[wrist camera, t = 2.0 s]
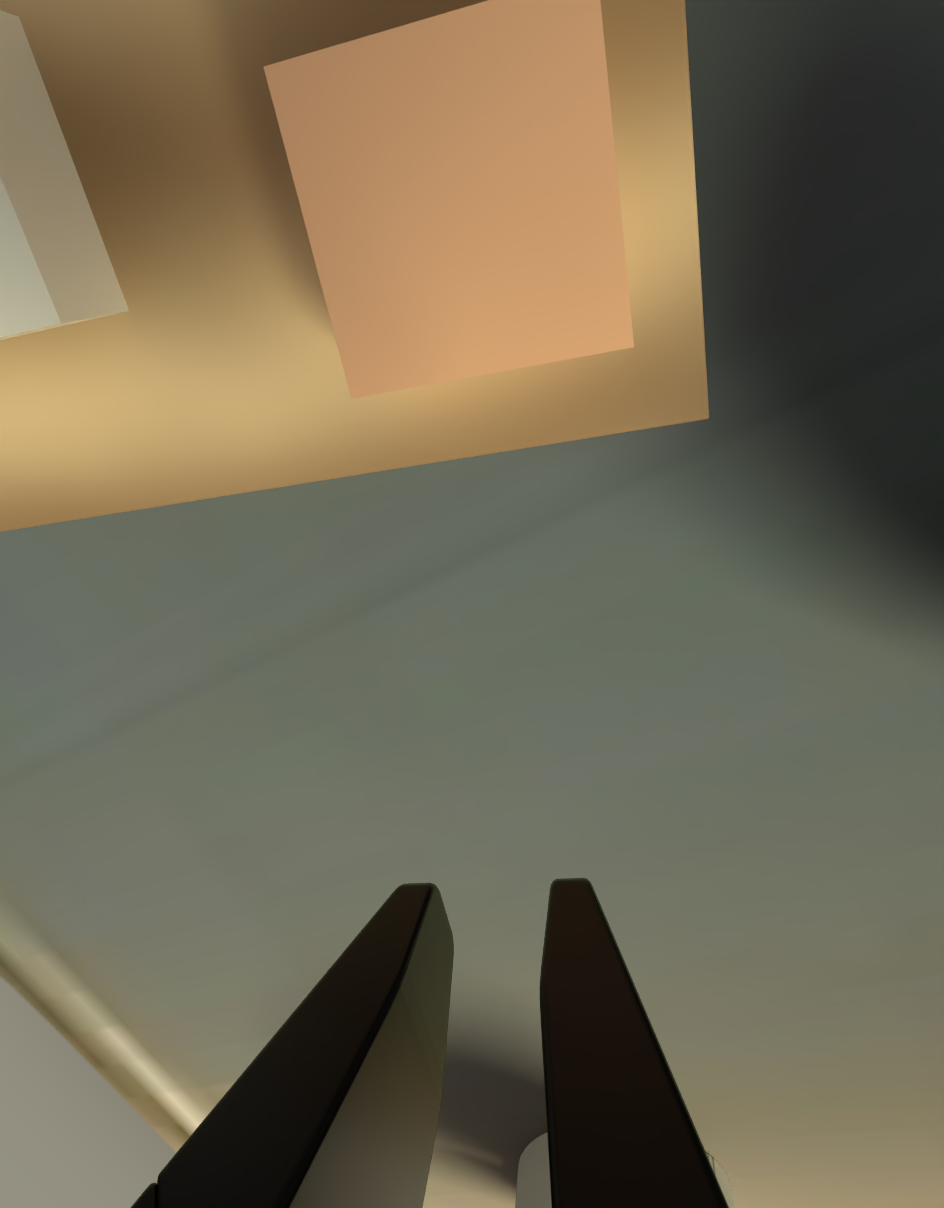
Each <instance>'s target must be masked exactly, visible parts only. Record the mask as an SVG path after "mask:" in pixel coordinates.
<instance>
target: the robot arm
mask: <svg viewBox="0 0 944 1208" xmlns="http://www.w3.org/2000/svg"><path fill="white" fill-rule="evenodd" d="M453 956H454V944H453V935H452V931H451V927H450V924H449V921H448V917H447V914H446V911H445V907H444V904H443V901H442V897H441V894H440V891H439V889H438V888H437V886H436V885H435V884H432V883H410V884H403V885H401V886H399V887H398V888H397V889H396V890H395V891H394V892H393V893H392V894H391V896H390V897H389V898H388V899H387V900H386V902H385V903H384V904H383V905H382V906H381V908H380V909H379V910H378V911H377V912H376V914H375V915H374V916H373V917H372V918H371V920H370V921H369V922H368V923H367V924H366V926H365V927H364V928H363V929H362V930H361V932H360V933H359V934H358V935H357V936H356V938H355V939H354V940H353V941H352V942H351V944H350V945H349V946H348V947H347V948H346V950H345V951H344V952H343V953H342V954H341V956H340V957H339V958H338V959H337V961H336V962H335V963H334V964H333V965H332V967H331V968H330V969H329V970H328V971H327V973H326V974H325V975H324V976H323V977H322V979H321V980H320V981H319V982H318V983H317V985H316V986H315V987H314V988H313V989H312V991H311V992H310V993H309V994H308V995H307V997H306V998H305V999H304V1000H303V1001H302V1003H301V1004H300V1005H299V1006H298V1007H297V1009H296V1010H295V1011H294V1012H293V1013H292V1015H291V1016H290V1017H289V1018H288V1019H287V1021H286V1022H285V1023H284V1024H283V1025H282V1027H281V1028H280V1029H279V1030H278V1031H277V1033H276V1034H275V1035H274V1036H273V1038H272V1039H271V1040H270V1041H269V1042H268V1044H267V1045H266V1046H265V1047H264V1048H263V1050H262V1051H261V1052H260V1053H259V1054H258V1056H257V1057H256V1058H255V1059H254V1060H253V1062H252V1063H251V1064H250V1065H249V1066H248V1068H247V1069H246V1070H245V1071H244V1072H243V1074H242V1075H241V1076H240V1077H239V1078H238V1080H237V1081H236V1082H235V1083H234V1084H233V1086H232V1087H231V1088H230V1089H229V1090H228V1092H227V1093H226V1094H225V1095H224V1096H223V1098H222V1099H221V1100H220V1101H219V1102H218V1104H217V1105H216V1106H215V1107H214V1108H213V1110H212V1111H211V1112H210V1113H209V1115H208V1116H207V1117H206V1118H205V1119H204V1121H203V1122H202V1123H201V1124H200V1125H199V1127H198V1128H197V1129H196V1130H195V1131H194V1133H193V1134H192V1135H191V1136H190V1137H189V1139H188V1140H187V1141H186V1142H185V1143H184V1145H183V1146H182V1147H181V1148H180V1149H179V1151H178V1152H177V1153H176V1154H175V1155H174V1157H173V1158H172V1159H171V1160H170V1161H169V1163H168V1164H167V1165H166V1166H165V1167H164V1169H163V1170H162V1171H161V1172H160V1174H159V1176H158V1180H157V1183H152V1184H150V1185H149V1186H148V1187H147V1189H146V1190H145V1191H144V1192H143V1193H142V1195H141V1196H140V1197H139V1198H138V1199H137V1201H136V1202H135V1203H134V1204H133V1206H132V1207H131V1208H422V1207H423V1201H424V1196H425V1190H426V1185H427V1179H428V1174H429V1169H430V1163H431V1158H432V1152H433V1147H434V1141H435V1136H436V1131H437V1125H438V1119H439V1112H440V1106H441V1099H442V1089H443V1079H444V1067H445V1055H446V1043H447V1030H448V1018H449V1006H450V993H451V981H452V969H453ZM540 1013H541V1031H542V1049H543V1066H544V1084H545V1102H546V1120H547V1137H548V1155H549V1173H550V1191H551V1208H729V1206H728V1204H727V1201H726V1199H725V1197H724V1194H723V1192H722V1190H721V1187H720V1185H719V1183H718V1180H717V1178H716V1175H715V1173H714V1171H713V1168H712V1166H711V1164H710V1161H709V1159H708V1157H707V1154H706V1152H705V1150H704V1147H703V1145H702V1143H701V1140H700V1138H699V1136H698V1133H697V1131H696V1128H695V1126H694V1124H693V1121H692V1119H691V1117H690V1114H689V1112H688V1110H687V1107H686V1105H685V1103H684V1100H683V1098H682V1096H681V1093H680V1091H679V1089H678V1086H677V1084H676V1081H675V1079H674V1077H673V1074H672V1072H671V1070H670V1067H669V1065H668V1063H667V1060H666V1058H665V1056H664V1053H663V1051H662V1049H661V1046H660V1044H659V1041H658V1039H657V1037H656V1034H655V1032H654V1030H653V1027H652V1025H651V1023H650V1020H649V1018H648V1016H647V1013H646V1011H645V1009H644V1006H643V1004H642V1002H641V999H640V997H639V994H638V992H637V990H636V987H635V985H634V983H633V980H632V978H631V976H630V973H629V971H628V969H627V966H626V964H625V962H624V959H623V957H622V955H621V952H620V950H619V947H618V945H617V943H616V940H615V938H614V936H613V933H612V931H611V929H610V926H609V924H608V922H607V919H606V917H605V915H604V912H603V910H602V908H601V905H600V903H599V900H598V898H597V896H596V893H595V891H594V889H593V886H592V884H591V882H590V881H589V880H588V879H586V878H570V879H555V880H554V881H553V882H552V884H551V887H550V894H549V903H548V912H547V921H546V930H545V938H544V947H543V956H542V965H541V977H540Z"/></svg>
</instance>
